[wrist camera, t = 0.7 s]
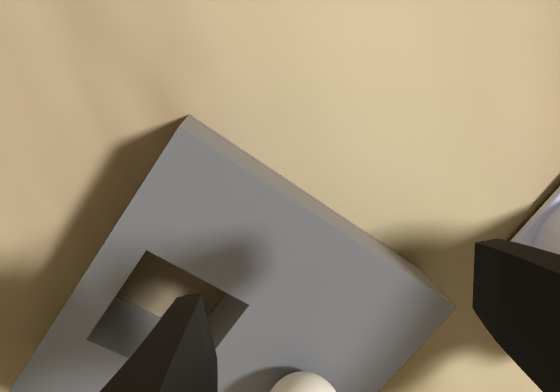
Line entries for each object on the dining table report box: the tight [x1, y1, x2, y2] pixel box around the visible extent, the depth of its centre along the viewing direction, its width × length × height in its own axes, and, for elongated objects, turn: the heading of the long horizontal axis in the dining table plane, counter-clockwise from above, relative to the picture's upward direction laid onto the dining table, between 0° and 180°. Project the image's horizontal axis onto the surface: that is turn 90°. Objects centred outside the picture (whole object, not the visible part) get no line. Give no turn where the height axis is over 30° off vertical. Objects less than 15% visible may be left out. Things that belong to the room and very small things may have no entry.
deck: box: [9, 115, 456, 392], centre depth 19 cm, size 15×15×4 cm
